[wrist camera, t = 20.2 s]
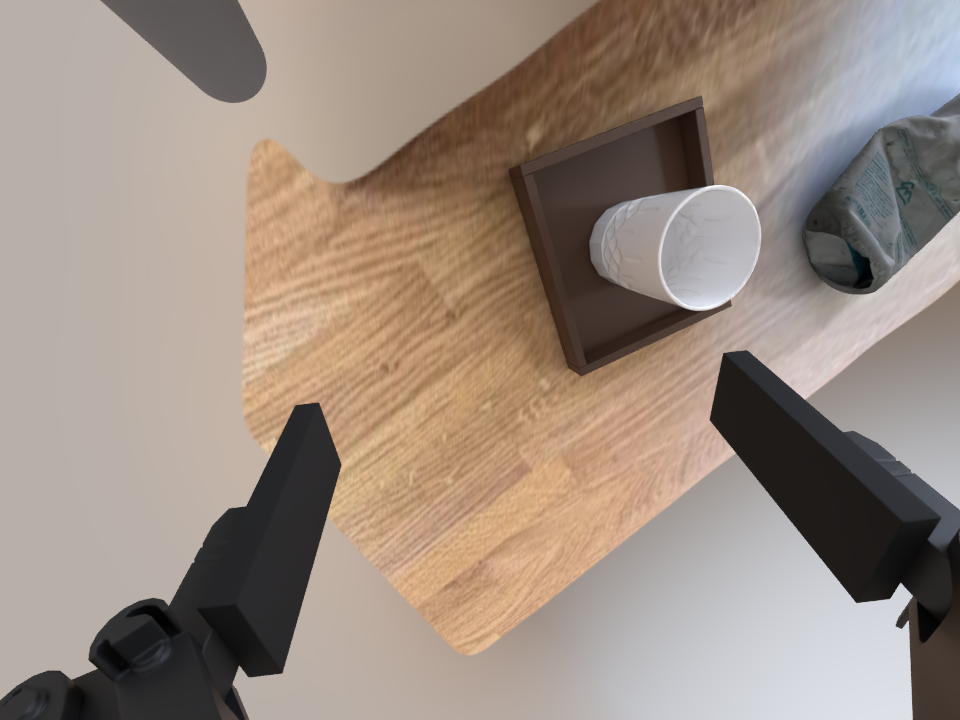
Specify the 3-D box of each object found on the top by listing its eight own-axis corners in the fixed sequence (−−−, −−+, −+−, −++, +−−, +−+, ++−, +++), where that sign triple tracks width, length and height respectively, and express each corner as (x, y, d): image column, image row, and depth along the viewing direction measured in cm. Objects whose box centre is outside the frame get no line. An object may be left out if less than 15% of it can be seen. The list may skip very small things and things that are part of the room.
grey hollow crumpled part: (814, 312, 46) (999, 159, 47) (887, 323, 40) (1104, 144, 40) (762, 205, 42) (965, 38, 43) (834, 197, 36) (1075, -2, 36)
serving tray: (508, 169, 34) (519, 165, 32) (680, 103, 36) (702, 95, 34) (568, 368, 41) (581, 376, 38) (711, 301, 43) (731, 306, 40)
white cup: (626, 173, 36) (720, 156, 27) (680, 238, 39) (781, 243, 30) (563, 249, 37) (635, 257, 28) (621, 308, 40) (703, 334, 31)
